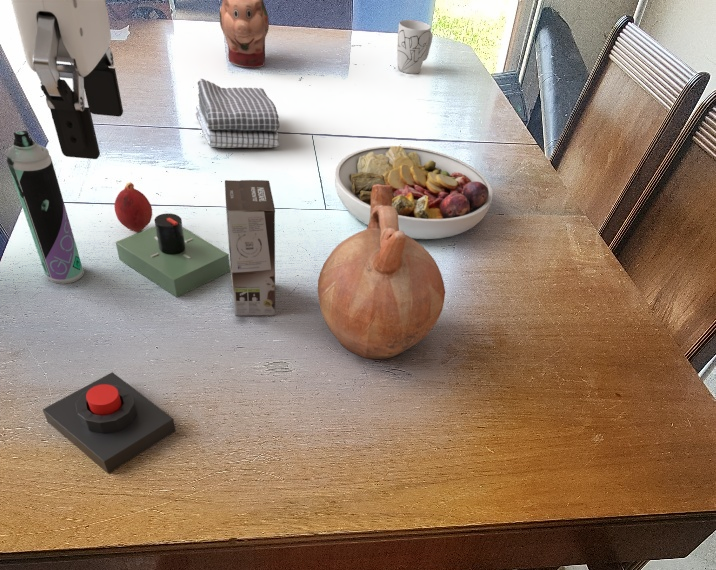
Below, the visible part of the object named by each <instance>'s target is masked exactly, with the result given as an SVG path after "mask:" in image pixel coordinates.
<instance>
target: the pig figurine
mask: <svg viewBox="0 0 716 570" xmlns="http://www.w3.org/2000/svg"><path fill="white" fill-rule="evenodd" d="M221 2H222V3H221V7H220V10H219V25H220V29H221V31H222V32H223V35H224V36H225V40H226V44H227V48H228V49H227V50H228V53H227V57H228V62H229V63H231V64H233V65H234V66H238V67H244V68H262V67H263V66H264V65H265V62H266V36H267V35H268V33H269V29H270V19H269V13H268V11H267V8H266V4H265V2H264V0H222V1H221Z"/></svg>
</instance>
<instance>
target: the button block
mask: <svg viewBox="0 0 716 570" xmlns="http://www.w3.org/2000/svg"><path fill="white" fill-rule="evenodd" d="M102 384H107V385H111V386H114V387H115V388H116V389H117V390H118V393H119V396H120V400H121V407H120V409H119V410H118V411H116V412H115V413H113V414H109V415H103V416H101V415H96V414H94V413H93V412H92V411H91V410H90V407H89V404H88V401H87V398H86V394H87V392H88V391H89V390H90V389H91V388H92V387H94V386H97V385H102ZM42 413H43V415H44V417H45V419H46V421H47V423H48V424H49V425H50V426H51V427H53V428H54V429H55V430H56V431H57V432H59V434H61V435H62V436H63V437H64V438H65V439H67V440H68V441H69V442H71V444H73V445H74V446H75V447H76V448H77V449H79V451H81V452H82V453H83V454H84V455H85V456H86V457H88V458H89V459H90V460H91V461H92V462H94V463H95V465H97V466H98V467H99V468H101V469H102V470H103V471H104V472H105V473H107V474H108V475H110V473H112V472H114V471H115V470H117V469H119V468H120V467H122V466H123V465H125V464H126V463H128V462H130V461H132V460H133V459H135V458H136V457H137V456H139V455H141V454H143V453H144V452H145V451H147V450H149V449H150V448H152V447H154V446H155V445H156V444H158V443H160V442H161V441H162V440H164V439H165V438H167V437H170V435H172V434H174V433H175V432H177V430H176V425H175V424H176V423H175V419H174V418H173V417H172V416H171V415H169V413H167V412H165V410H163V409H161V408H160V407H159V406H158V405H156V404H155V403H154V402H152V401H151V400H150V399H149V398H147V397H146V396H145V395H143V394H142V393H141V392H139V391H138V390H137V389H136V388H134V387H132V385H131V384H129V383H127V382H126V381H125V380H124V379H122V378H121V377H119V376H118V375H117V374H115V373H114V371H112V372H110V373H108V374H106V375H104V376H102V377H100V378H99V379H97V380H94V381H93V382H90V383H89V384H87V385H85V386H84V387H82V388H80V389H78V390H76V391H74V392H72V393H70V394H68V395H67V396H65V397H63V398H61V399H59V400H57V401H55V402H53V403H52V404H50V405H48V406H46V407H44V408H42Z"/></svg>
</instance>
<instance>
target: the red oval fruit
mask: <svg viewBox="0 0 716 570" xmlns="http://www.w3.org/2000/svg"><path fill="white" fill-rule="evenodd" d="M124 186H125V187H124V188H123V189H122V190H121V191H119V193H118V194H117V196H116V198H115V201H114V205H113V206H114V212H115V216H116V218H117V220H118V222H119V223H120V224H121V225H122V226H123V227H125V228H126V229H128V230H130V231H133V232H135V233H139V232H142V231H143V230H145V228H146V227H147V226H148V225H149V224H150V223H151V221H152V217H153V206H152V204H151V202H150V200H149V199H148V198H147V197H146V195H145V194H144V193H143V192H141V191H140V190H138V189H136V188H135V185H134V184H133V182H131V181H130V182H127V183H126V185H124Z"/></svg>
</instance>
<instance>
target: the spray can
mask: <svg viewBox="0 0 716 570" xmlns="http://www.w3.org/2000/svg"><path fill="white" fill-rule="evenodd" d="M13 136H14V139H13V141H12V145H11V146H10V147H8V148H7V149H6V150H5V152H4V155H5V157H6V158H5V159H6V163H7V166H8V169H9V172H10V176H11V178H12V181H13V184H14V188H15V191H16V192H17V195H18V198H19V201H20V205H21V207H22V211H23V213H24V216H25V219H26V222H27V225H28V228H29V231H30V234H31V238H32V239H33V243H34V245H35V248H36V251H37V255H38V258H39V260H40V263H41V266H42V269H43V272H44V274H45V277H46V279H47V280H48V281H50V282H51V283H54V284H60V285H63V284H64V285H65V284H70V283H74V282H77V281H79V280H81V278H82V277H84V268H83V264H82V261H81V257H80V254H79V250H78V247H77V243H76V240H75V237H74V233H73V229H72V226H71V223H70V219H69V215H68V212H67V209H66V205H65V201H64V198H63V194H62V191H61V188H60V184H59V180H58V177H57V173H56V170H55V167H54V163H53V160H52V157H51V155H50V152H49V149H48V148H47V147H45V146H43V145H41V144H38V143H37V142H36V140H35V139H32V138H31V137H30V134H29V132H28V130H22V131H15V132H13Z"/></svg>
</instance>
